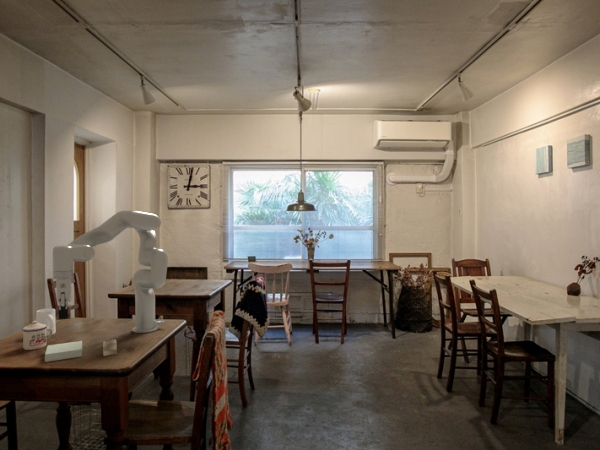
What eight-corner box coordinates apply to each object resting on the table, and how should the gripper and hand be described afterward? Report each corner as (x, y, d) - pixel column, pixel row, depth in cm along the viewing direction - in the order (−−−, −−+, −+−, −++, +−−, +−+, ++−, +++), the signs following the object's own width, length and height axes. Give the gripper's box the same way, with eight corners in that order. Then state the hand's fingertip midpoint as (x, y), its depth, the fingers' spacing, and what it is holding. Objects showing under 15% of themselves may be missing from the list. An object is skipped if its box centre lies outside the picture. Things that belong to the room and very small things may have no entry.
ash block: (116, 350, 169) (115, 339, 169) (116, 354, 165) (116, 342, 165) (103, 352, 167) (103, 341, 167) (103, 356, 162) (103, 344, 162)
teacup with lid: (29, 351, 168) (28, 325, 168) (18, 348, 173) (18, 322, 173) (57, 343, 179) (57, 318, 179) (47, 340, 183) (46, 316, 183)
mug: (43, 338, 187) (42, 314, 187) (33, 334, 194) (33, 310, 194) (61, 334, 193) (61, 310, 193) (51, 330, 200) (51, 307, 200)
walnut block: (70, 316, 168) (70, 304, 168) (70, 318, 163) (70, 306, 163) (57, 317, 165) (57, 305, 165) (56, 320, 161) (56, 308, 161)
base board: (82, 347, 173) (82, 340, 173) (81, 356, 162) (81, 349, 162) (47, 352, 167) (47, 345, 167) (44, 361, 156) (44, 354, 156)
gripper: (72, 276, 158) (73, 320, 159) (74, 271, 173) (74, 312, 174) (51, 277, 155) (51, 323, 155) (54, 273, 170) (54, 314, 170)
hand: (63, 317), depth 164 cm, fingers closed on walnut block, 4 cm apart
